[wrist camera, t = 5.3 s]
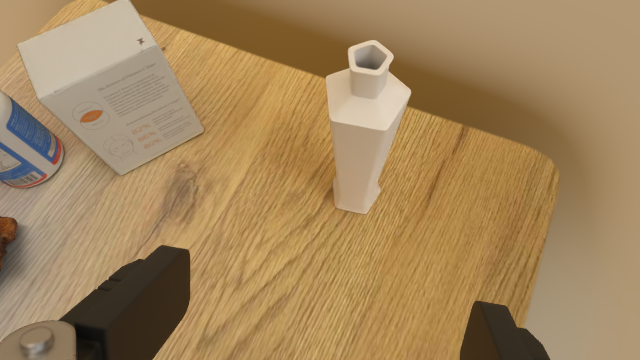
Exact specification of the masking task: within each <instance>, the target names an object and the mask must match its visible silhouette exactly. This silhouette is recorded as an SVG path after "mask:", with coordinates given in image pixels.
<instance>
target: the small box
mask: <svg viewBox="0 0 640 360" xmlns="http://www.w3.org/2000/svg"><path fill="white" fill-rule="evenodd" d="M17 48H18V51H19V53H20V56H21V58H22V61H23V64H24V66H25V69H26V71H27V74H28V76H29V79H30V81H31V84H32V86H33V89H34V91H35V94H36V96H37V99H38V101H39V102H40V103H41V104H42V105H43V106H44V107H45V108H46V109H48V110H49V111H50V112H51V113H52V114H53V115H54V116H55V117H56V118H57V119H58V120H60V121H61V122H62V123H63V124H64V125H65V126H66V127H67V128H68V129H69V130H70V131H71V132H72V133H74V134H75V135H76V136H77V137H78V138H79V139H80V140H81V141H82V142H83V143H84V144H85V145H86V146H87V147H89V148H90V149H91V150H92V151H93V152H94V153H95V154H96V155H97V156H98V157H100V158H101V159H102V160H103V161H104V162H105V163H106V164H107V165H108V166H109V167H110V168H112V169H113V170H114V171H115V172H116V173H117V174H118V175H119V176H122V175H124V174H126V173H128V172H130V171H131V170H133V169H135V168H137V167H139V166H141V165H143V164H145V163H146V162H148V161H150V160H152V159H154V158H156V157H158V156H160V155H162V154H163V153H165V152H167V151H169V150H171V149H173V148H175V147H177V146H179V145H180V144H182V143H184V142H186V141H188V140H190V139H191V138H193V137H195V136H197V135H199V134H201V133H203V132H204V128H203V126H202V124H201V122H200V120H199V119H198V117H197V115H196V113H195V111H194V109H193V108H192V106H191V104H190V102H189V100H188V98H187V96H186V95H185V93H184V91H183V89H182V87H181V85H180V83H179V82H178V80H177V78H176V76H175V74H174V72H173V70H172V68H171V66H170V65H169V63H168V61H167V59H166V57H165V55H164V54H163V52H162V50H161V48H160V47H159V45H158V43H157V42H156V40H155V39H154V37H153V35H152V34H151V32H150V31H149V29H148V28H147V26H146V24H145V23H144V21H143V20H142V18H141V17H140V15H139V14H138V12H137V11H136V9H135V8H134V6H133V5H132V3H131V1H130V0H117V1H115V2H113V3H110V4H108V5H106V6H104V7H101V8H99V9H97V10H94V11H92V12H90V13H88V14H85V15H83V16H81V17H78V18H76V19H74V20H71V21H69V22H67V23H64V24H62V25H60V26H58V27H55V28H53V29H51V30H48V31H46V32H44V33H42V34H39V35H37V36H35V37H32V38H30V39H28V40H25V41H23V42H21V43H18V44H17Z"/></svg>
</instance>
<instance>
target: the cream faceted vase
mask: <svg viewBox="0 0 640 360" xmlns="http://www.w3.org/2000/svg"><path fill="white" fill-rule="evenodd" d="M348 58H349V66H350V68H348V69H345V70H342V71H339V72H336V73H333V74H331V75H328V76H327V77H326V86H327V97H328V108H329V118H330V126H331V134H332V142H333V150H334V159H335V167H336V175H337V176H336V177H335V178H334V180H333V190H334V202H335V207H336V208H338V209H342V210H347V211H351V212H356V213H360V214H367V213H368V211H369V210H370V208H371V206H372V205H373V203H374V202H375V200H376V198H377V197H378V195H379V193H380V191H381V189H380V187H379V184H378V180H379V177H380V175H381V172H382V169H383V167H384V164H385V161H386V159H387V156H388V153H389V151H390V148H391V145H392V143H393V140H394V137H395V135H396V132H397V129H398V127H399V124H400V121H401V119H402V116H403V113H404V111H405V108H406V105H407V103H408V100H409V97H410V95H411V90H410V89H409V88H408V87H407V86H406V85H404V84H403V83H402V82H401V81H399V80H398V79H397V78H396V77H395V76H394V75H392V74H391V73H390V72H389V71H388V69H389V64H390V63H391V62H392V60H393V58H394V56H393V54H392V53H391V52H390V51H389V50H387V49H386V48H385V47H384V46H382V45H381V44H380V43H379V42H377V41H375V40H370V41H367V42H364V43H361V44H358V45H355V46H352V47H350V48H349V49H348Z"/></svg>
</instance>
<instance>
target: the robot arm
mask: <svg viewBox="0 0 640 360" xmlns="http://www.w3.org/2000/svg"><path fill="white" fill-rule="evenodd" d="M189 300H190V253H189V251H188V250H187V249H182V248H176V247H170V246H164V245H161V246H159V247H158V248H157V249H156V250H155V251H154V252H152V253H151V254H150V255H149V256H148V257H147V258H146V259H145V260H143V259H138V260H136V261H134V262H132V263H129V264H127V265H125V266H123V267H121V268H120V269H119V270H118V271H116V272H115V273H114V274H113V275H112V276H110V277H109V279H108V280H106V281H104V282H103V283H102V284H101V285H100V286H99V287H98V289H95V290H94V291H93V292H91V293H90V294H89V295H88V296H87V297H86V298H84V299H83V300H82V301H81V302H80V303H78V304H77V305H76V306H75V307H74V308H72V309H71V310H70V311H69V312H68V313H67V314H65V315H64V316H63V317H62V318H61V319H59V320H58V321H54V320H51V321H42V322H37V323H33V324H30V325H27V326H24V327H22V328H20V329H18V330H16V331H14V332H12V333H11V334H9V335H8V336H7V337H5V338H4V339H3V340H2V341H1V342H0V360H152V359H153V358H154V357H155V355H156V354H157V353H158V351H159V350H160V349H161V347H162V346H163V345H164V343H165V342H166V340H167V339H168V338H169V336H170V335H171V334H172V332H173V331H174V330H175V328H176V327H177V326H178V324H179V323H180V321H181V320H182V319H183V317H184V315H185V313H186V311H187V308H188V305H189ZM460 360H550V358H549V356H548V354H547V352H546V351H545V349H544V347H543V345H542V344H541V343H540V342H539V341H538V340H537V339H536V338H535V337H534V336H533V335H532V334H531V333H530V332H529V331H528V330H527V329H524V328H518V327H517V326H516V324H515V322H514V320H513V318H512V316H511V314H510V312H509V309H508V308H507V307H506V306H505V305H499V304H493V303H487V302H482V301H475V302H474V304H473V306H472V309H471V313H470V317H469V320H468V324H467V328H466V331H465V335H464V339H463V342H462V346H461V351H460Z"/></svg>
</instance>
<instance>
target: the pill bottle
mask: <svg viewBox="0 0 640 360" xmlns="http://www.w3.org/2000/svg"><path fill="white" fill-rule="evenodd" d="M63 155H64V150H63V146H62V143H61V142H60V140H59V139H58V138H57V137H56V136H55V135H54V134H53V133H52V132H51V131H49V130H48V129H47V128H46V127H45V126H44V125H42V124H41V123H40V122H39V121H38V120H36V119H35V118H34V117H33V116H32V115H31V114H29V113H28V112H27V111H26V110H25V109H23V108H22V107H21V106H20V105H19V104H18V103H16V102H15V101H14V100H13V99H12V98H10V97H9V96H8V95H7V94H6V93H4V92H3V91H2V90H0V181H1V182H3V183H5V184H7V185H9V186H12V187H16V188H27V187H32V186H35V185H38V184H40V183H42V182H44V181H45V180H47V179H48V178H50V177H51V176H52V175H53V174H54V173H55V172H56V171H57V169H58V168H59V166H60V165H61V163H62V160H63Z"/></svg>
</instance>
